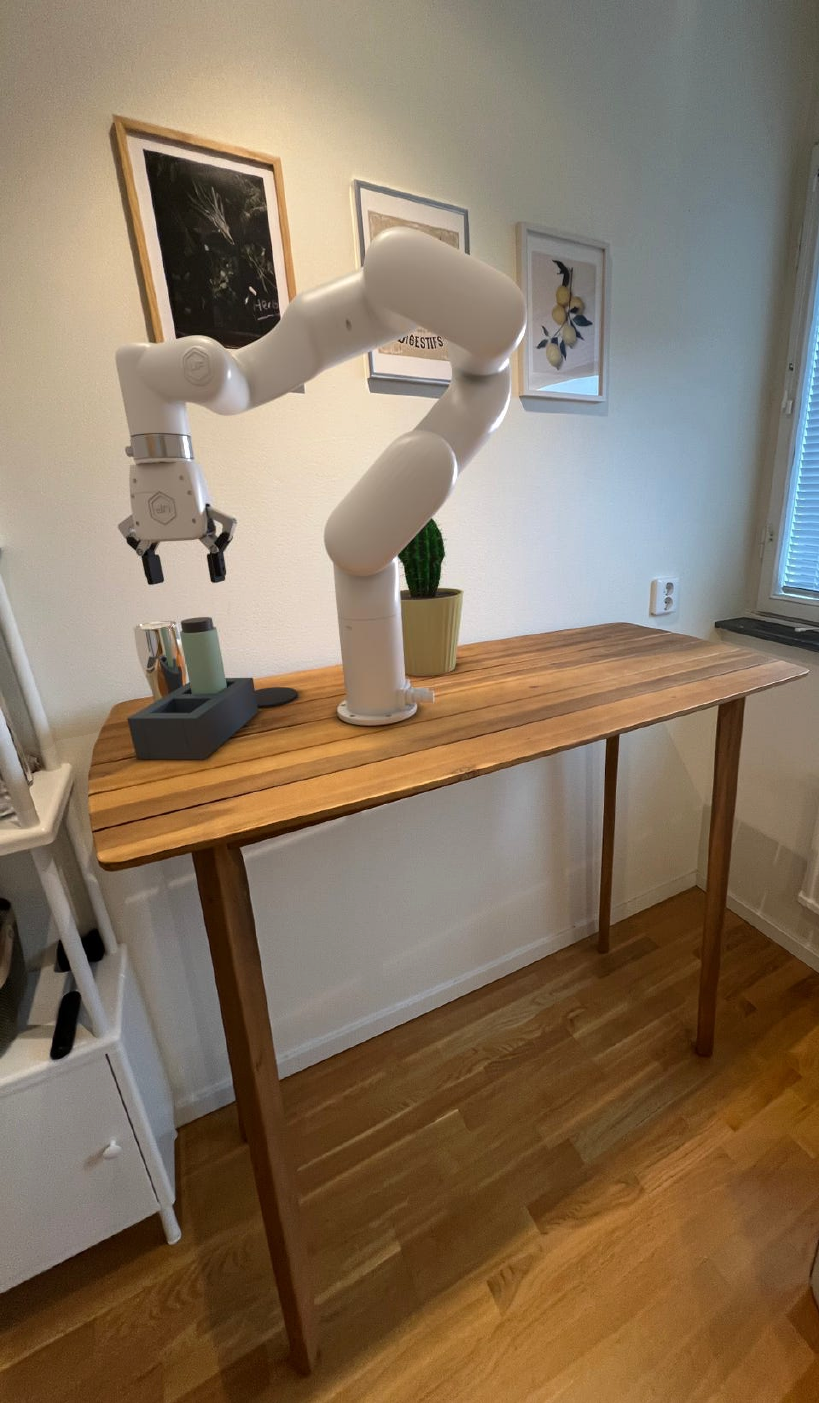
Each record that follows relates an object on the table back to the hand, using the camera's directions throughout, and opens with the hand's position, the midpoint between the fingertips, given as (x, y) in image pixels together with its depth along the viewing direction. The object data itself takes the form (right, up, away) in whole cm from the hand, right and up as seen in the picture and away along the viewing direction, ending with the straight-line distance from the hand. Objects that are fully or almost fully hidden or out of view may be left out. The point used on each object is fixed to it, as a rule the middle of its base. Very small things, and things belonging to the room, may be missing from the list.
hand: (187, 582), depth 79 cm
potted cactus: (+36, -11, +31) cm, 48 cm away
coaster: (+7, -17, +18) cm, 25 cm away
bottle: (+2, -21, +7) cm, 22 cm away
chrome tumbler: (-8, -19, +14) cm, 25 cm away
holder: (+1, -22, +4) cm, 22 cm away
